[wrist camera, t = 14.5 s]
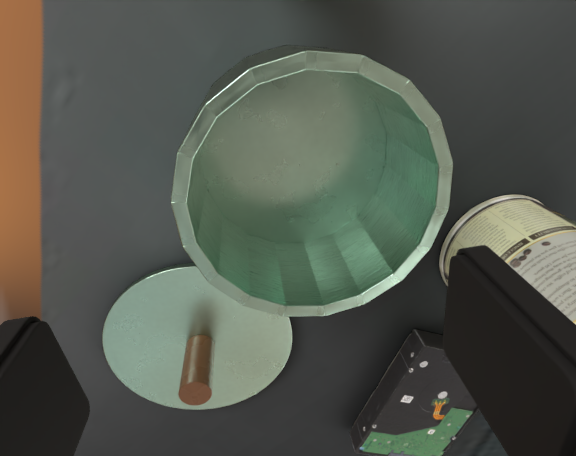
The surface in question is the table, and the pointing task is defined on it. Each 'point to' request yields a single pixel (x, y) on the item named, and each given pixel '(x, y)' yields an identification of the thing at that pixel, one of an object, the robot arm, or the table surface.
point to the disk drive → (415, 403)
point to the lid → (192, 341)
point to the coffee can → (522, 244)
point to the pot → (310, 181)
